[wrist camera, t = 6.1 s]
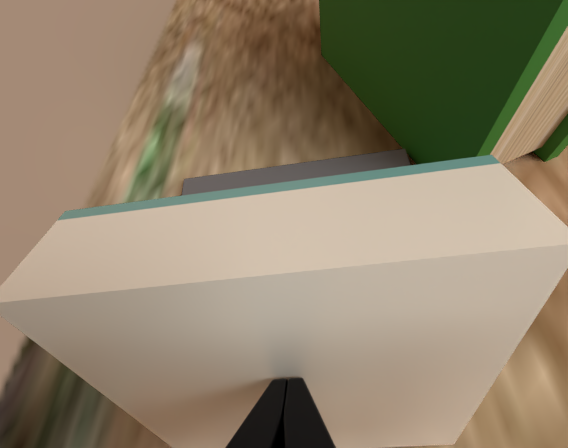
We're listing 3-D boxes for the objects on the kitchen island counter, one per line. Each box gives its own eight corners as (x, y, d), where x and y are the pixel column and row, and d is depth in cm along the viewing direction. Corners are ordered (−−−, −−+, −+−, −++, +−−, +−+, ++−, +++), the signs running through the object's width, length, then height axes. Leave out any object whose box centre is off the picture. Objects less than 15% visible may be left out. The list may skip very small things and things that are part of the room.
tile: (453, 444, 12) (584, 242, 5) (183, 456, 13) (-14, 304, 6) (427, 367, 14) (491, 154, 7) (198, 383, 16) (65, 211, 9)
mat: (466, 344, 15) (470, 343, 14) (162, 367, 16) (157, 367, 16) (403, 153, 21) (405, 148, 20) (187, 183, 22) (184, 179, 22)
